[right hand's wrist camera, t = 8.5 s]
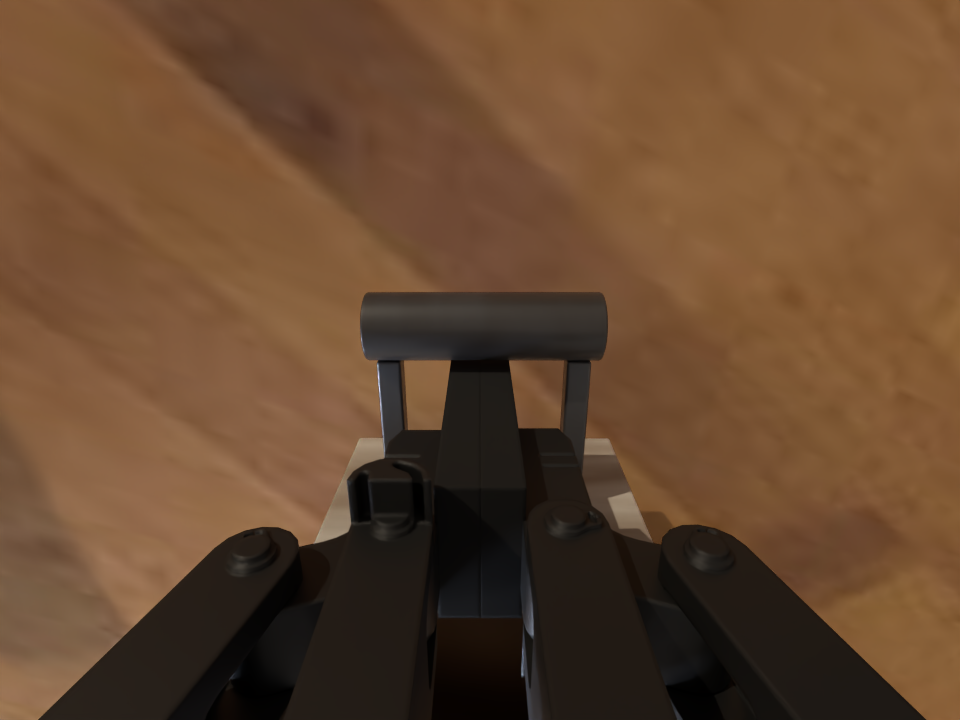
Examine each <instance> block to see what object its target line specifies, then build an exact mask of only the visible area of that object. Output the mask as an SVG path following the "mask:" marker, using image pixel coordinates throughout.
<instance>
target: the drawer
mask: <svg viewBox="0 0 960 720" xmlns="http://www.w3.org/2000/svg"><path fill="white" fill-rule="evenodd" d="M607 333H608V315H607V306H606V301H605V298H604V295H603V294H602V293H600V292H368V293H366V294H365V296H364V298H363V301H362V306H361V315H360V334H361V343H362V349H363V352H364V355H365V357H366V359H368V360H378V362H377V373H378V386H379V398H380V411H381V423H382V436H383V438H360V439H359V441H358V443H357V446H356V448H355V450H354V452H353V455H352V457H351V459H350V462H349V464H348V466H347V469H346V471H345V473H344V476H343V478H342V480H341V482H340V485H339V487H338V489H337V492H336V494H335V496H334V499H333V501H332V503H331V506H330V508H329V510H328V512H327V515H326V517H325V519H324V522H323V524H322V526H321V529H320V531H319V533H318V536H317V538H316V540H315V542H314V543H319V542H323V541H327V540H330V539H333V538H336V537H338V536H341V535H343V534H345V533H347V532H348V531H349V528H350V525H351V518H350V508H349V499H348V489H347V479H348V477H349V476H350V475H351V474H352V472H353V471H354V470H356V469H357V468H359V467H361V466H362V465H364V464H366V463H369V462H372V461H375V460H379V459H384V458H385V453H386V450H387V447H388V444H389V441H390V440H392V439H393V438H394V437H395V436H396V435H397V434H398V433H399V432H401V431H402V430H408V424H407V407H406V390H405V373H404V360H564V371H563V388H562V405H561V421H560V431H561V432H563V433H564V434H565V435H566V436H567V437H568V438H569V439H570V440H571V441H572V445H573V448H574V451H575V456H576V457H577V460H578V463H579V467H580V470H581V473H582V476H583V479H584V482H585V485H586V488H587V491H588V495H589V498H590V501H591V504H592V506H593V507H594V508H596V509H597V510H599V511H600V512H601V513H603V515H604V516H605V518H606V519H607V521H608V522H609V525H610V528H611V529H612V530H614V531H616V532H618V533H620V534H622V535H624V536H627V537H631V538H634V539H638V540H642V541H646V542H651V543H653V541H652V538H651V536H650V534H649V531H648V529H647V527H646V524H645V522H644V520H643V517H642V515H641V513H640V510H639V508H638V506H637V503H636V501H635V499H634V496H633V494H632V492H631V489H630V487H629V484H628V482H627V480H626V477H625V475H624V473H623V470H622V468H621V466H620V463H619V461H618V459H617V456H616V454H615V452H614V449H613V447H612V445H611V442H610V440H609V439H608V438H585V435H586V423H587V410H588V398H589V385H590V373H591V362H590V360H601V359H602V357H603V355H604V352H605V349H606V343H607ZM437 644H438V645H437V657H436V669H435V681H434V693H433V705H432V716H431V720H529V716H528V704H527V692H526V680H525V677H521V670H522V644H523V611H522V618H438V614H437Z"/></svg>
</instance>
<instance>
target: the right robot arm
mask: <svg viewBox="0 0 960 720" xmlns="http://www.w3.org/2000/svg"><path fill="white" fill-rule="evenodd" d="M347 489H348V499H349V508H350V518H351V525H350V528H349V531H348V532H347V533H345V534H343V535H341V536H338V537H336V538H333V539H330V540H327V541H323V542H319V543H314V544H310V545H305V546H301V547H299V545H298V540H297V539H296V537H295V536H294V535H293V534H292V533H291V532H290V531H287V530H284V529H281V528H278V527H260V528H255V529H251V530H246V531H243V532H241V533H239V534H236V535H234V536H232V537H229V538H228V539H226V540H225V541H224V542H222V543H221V544H220V545H218V546H217V547H216V548H214V549H213V550H212V551H211V552H210V553H209V554H208V555H207V556H206V557H205V558H204V559H203V560H202V561H201V562H200V563H199V564H198V565H197V566H196V567H195V568H194V569H193V570H192V571H191V572H190V573H189V574H188V575H186V576H185V577H184V578H183V579H182V580H181V581H180V582H179V583H178V584H177V585H176V586H175V587H174V588H173V589H172V590H171V591H170V592H169V593H168V594H167V595H166V596H165V597H164V598H163V599H162V600H161V601H160V602H159V603H158V604H157V605H156V606H155V607H154V608H153V609H152V610H150V611H149V612H148V613H147V614H146V615H145V616H144V617H143V618H142V619H141V620H140V621H139V622H138V623H137V624H136V625H135V626H134V627H133V628H132V629H131V630H130V631H129V632H128V633H127V634H126V635H125V636H124V637H123V638H122V639H121V640H120V641H119V642H118V643H117V644H116V645H115V646H113V647H112V648H111V649H110V650H109V651H108V652H107V653H106V654H105V655H104V656H103V657H102V658H101V659H100V660H99V661H98V662H97V663H96V664H95V665H94V666H93V667H92V668H91V669H90V670H89V671H88V672H87V673H86V674H85V675H84V676H83V677H82V678H81V679H80V680H79V681H77V682H76V683H75V684H74V685H73V686H72V687H71V688H70V689H69V690H68V691H67V692H66V693H65V694H64V695H63V696H62V697H61V698H60V699H59V700H58V701H57V702H56V703H55V704H54V705H53V706H52V707H51V708H50V709H49V710H48V711H47V712H46V713H45V714H44V715H43V716H41V717H40V718H39V719H38V720H431V716H432V705H433V693H434V681H435V669H436V657H437V645H438V644H437V614H438V618H522V611H523V644H522V670H521V677H525V680H526V692H527V704H528V716H529V720H926V719H925V718H924V717H923V716H922V715H921V714H920V713H919V712H918V711H917V710H916V709H914V708H913V707H912V706H911V705H910V704H909V703H908V702H907V701H906V700H905V699H904V698H903V697H902V696H901V695H900V694H899V693H898V692H897V691H896V690H895V689H894V688H893V687H892V686H891V685H890V684H889V683H888V682H887V681H885V680H884V679H883V678H882V677H881V676H880V675H879V674H878V673H877V672H876V671H875V670H874V669H873V668H872V667H871V666H870V665H869V664H868V663H867V662H866V661H865V660H864V659H863V658H862V657H861V656H860V655H859V654H858V653H856V652H855V651H854V650H853V649H852V648H851V647H850V646H849V645H848V644H847V643H846V642H845V641H844V640H843V639H842V638H841V637H840V636H839V635H838V634H837V633H836V632H835V631H834V630H833V629H832V628H831V627H830V626H829V625H827V624H826V623H825V622H824V621H823V620H822V619H821V618H820V617H819V616H818V615H817V614H816V613H815V612H814V611H813V610H812V609H811V608H810V607H809V606H808V605H807V604H806V603H805V602H804V601H803V600H802V599H801V598H800V597H798V596H797V595H796V594H795V593H794V592H793V591H792V590H791V589H790V588H789V587H788V586H787V585H786V584H785V583H784V582H783V581H782V580H781V579H780V578H779V577H778V576H777V575H776V574H775V573H774V572H773V571H772V570H770V569H769V568H768V567H767V566H766V565H765V564H764V563H763V562H762V561H761V560H760V559H759V558H758V557H757V556H756V555H755V554H754V553H753V552H752V551H751V550H750V549H749V548H748V547H747V546H745V545H744V544H743V543H741V542H740V541H739V540H737V539H736V538H735V537H733V536H732V535H729V534H727V533H725V532H723V531H720V530H718V529H716V528H711V527H706V526H702V525H681V526H678V527H676V528H673V529H670V530H669V531H668V532H667V533H666V534H665V536H664V537H663V538H662V545H660V544H655V543H651V542H646V541H642V540H638V539H634V538H631V537H627V536H624V535H622V534H620V533H618V532H616V531H614V530H612V529H611V528H610V525H609V522H608V521H607V519H606V518H605V516H604V515H603V513H601V512H600V511H599V510H597V509H596V508H594V507H593V506H592V504H591V501H590V498H589V495H588V491H587V488H586V485H585V482H584V479H583V476H582V473H581V470H580V467H579V463H578V460H577V457H576V456H575V451H574V448H573V445H572V441H571V440H570V439H569V438H568V437H567V436H566V435H565V434H564V433H563V432H561V431H560V430H559V429H558V428H518V423H517V416H516V408H515V401H514V394H513V387H512V380H511V373H510V366H509V360H451V366H450V373H449V380H448V387H447V395H446V402H445V409H444V416H443V423H442V430H402V431H401V432H399V433H398V434H397V435H396V436H395V437H394V438H393V439H392V440H390V441H389V444H388V447H387V450H386V453H385V458H384V459H379V460H375V461H372V462H369V463H366V464H364V465H362V466H361V467H359V468H357V469H356V470H354V471H353V472H352V474H351V475H350V476H349V477H348V479H347Z"/></svg>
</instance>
